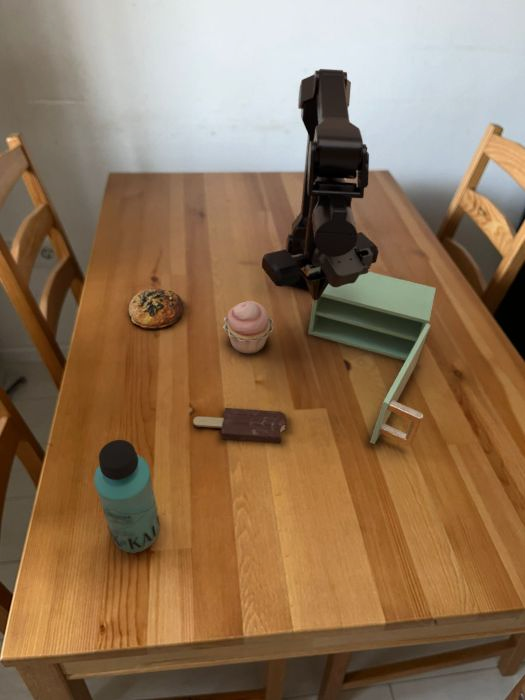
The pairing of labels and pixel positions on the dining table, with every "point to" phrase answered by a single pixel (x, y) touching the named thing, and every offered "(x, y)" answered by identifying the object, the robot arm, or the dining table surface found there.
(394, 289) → the fridge
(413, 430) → the fridge door
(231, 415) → the ice cream bar
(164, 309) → the bread roll
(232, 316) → the cupcake
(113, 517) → the beverage bottle
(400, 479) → the dining table surface
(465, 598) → the dining table surface
